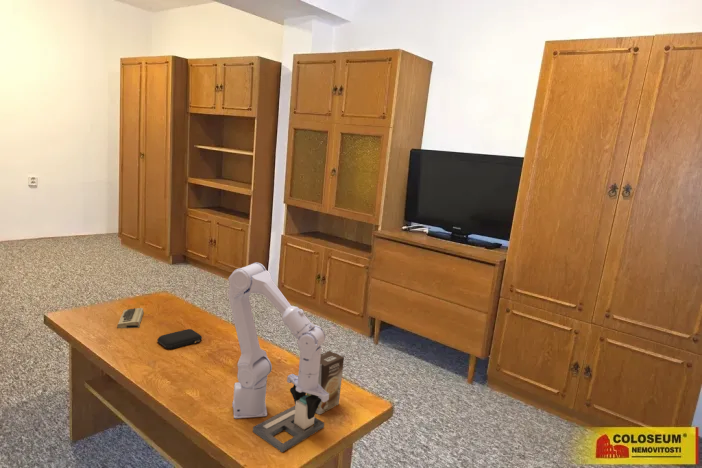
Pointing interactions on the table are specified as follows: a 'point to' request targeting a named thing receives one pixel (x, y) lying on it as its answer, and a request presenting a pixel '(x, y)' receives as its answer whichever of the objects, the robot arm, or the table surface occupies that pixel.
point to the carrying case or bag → (179, 339)
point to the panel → (285, 423)
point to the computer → (131, 318)
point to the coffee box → (330, 379)
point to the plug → (302, 414)
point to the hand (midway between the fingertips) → (305, 414)
